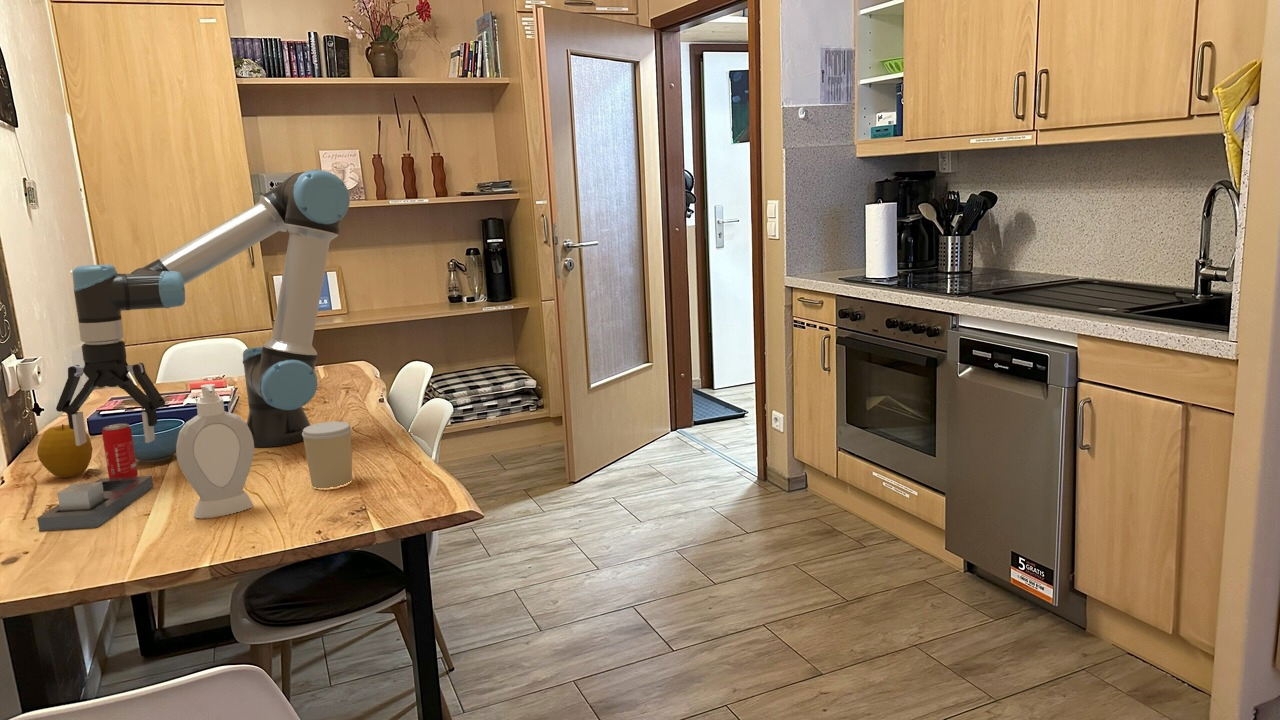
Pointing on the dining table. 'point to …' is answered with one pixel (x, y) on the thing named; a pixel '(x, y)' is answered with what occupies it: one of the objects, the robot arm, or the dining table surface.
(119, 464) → the beverage can
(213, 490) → the soap bottle
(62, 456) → the apple
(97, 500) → the grey flat frame
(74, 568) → the dining table surface
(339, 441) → the coffee cup
